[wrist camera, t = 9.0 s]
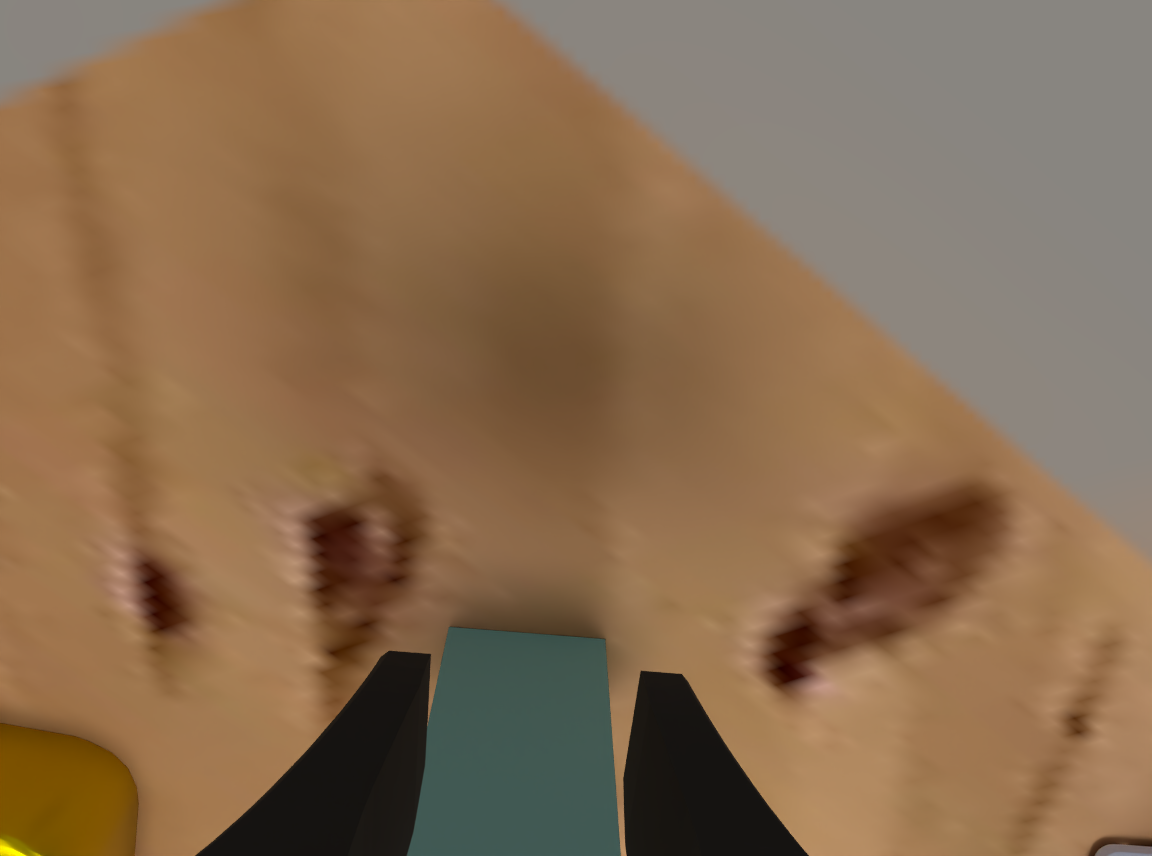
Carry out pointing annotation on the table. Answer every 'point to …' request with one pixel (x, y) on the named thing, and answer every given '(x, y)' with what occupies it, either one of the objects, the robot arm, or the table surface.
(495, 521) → the table surface
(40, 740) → the element tile
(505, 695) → the teal domino
